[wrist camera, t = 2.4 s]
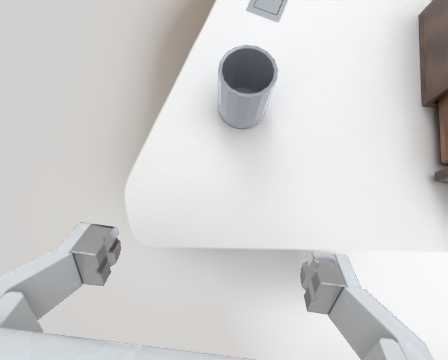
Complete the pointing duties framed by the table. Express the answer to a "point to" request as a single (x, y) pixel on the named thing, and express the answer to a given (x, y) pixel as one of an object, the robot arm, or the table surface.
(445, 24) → the cabinet
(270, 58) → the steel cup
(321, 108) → the table surface
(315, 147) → the table surface
